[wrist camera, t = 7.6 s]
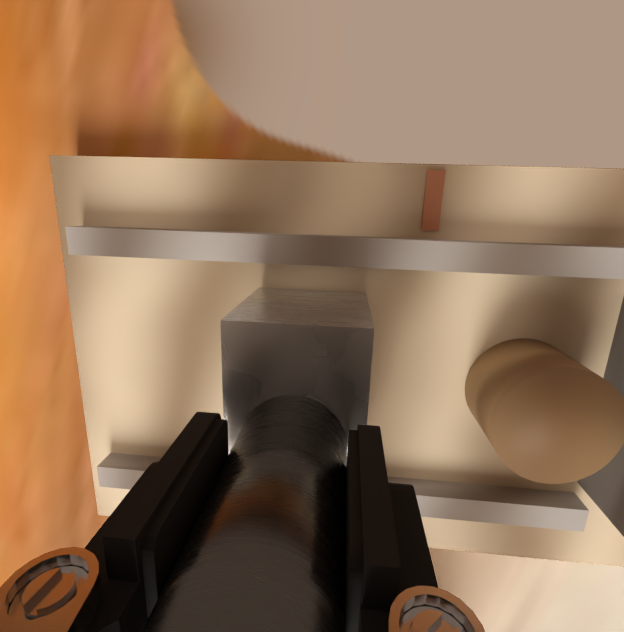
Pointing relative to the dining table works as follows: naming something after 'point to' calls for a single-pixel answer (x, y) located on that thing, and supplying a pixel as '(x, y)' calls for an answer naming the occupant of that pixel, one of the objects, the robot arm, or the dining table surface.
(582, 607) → the dining table surface
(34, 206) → the dining table surface
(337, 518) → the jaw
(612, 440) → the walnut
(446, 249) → the board
